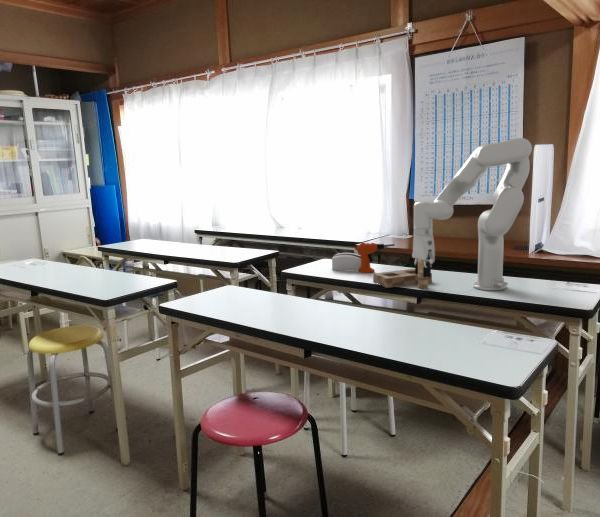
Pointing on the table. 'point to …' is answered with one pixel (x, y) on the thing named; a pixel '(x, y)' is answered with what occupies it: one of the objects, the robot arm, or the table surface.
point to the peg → (422, 275)
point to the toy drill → (364, 251)
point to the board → (397, 278)
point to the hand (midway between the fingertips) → (422, 275)
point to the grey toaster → (346, 261)
